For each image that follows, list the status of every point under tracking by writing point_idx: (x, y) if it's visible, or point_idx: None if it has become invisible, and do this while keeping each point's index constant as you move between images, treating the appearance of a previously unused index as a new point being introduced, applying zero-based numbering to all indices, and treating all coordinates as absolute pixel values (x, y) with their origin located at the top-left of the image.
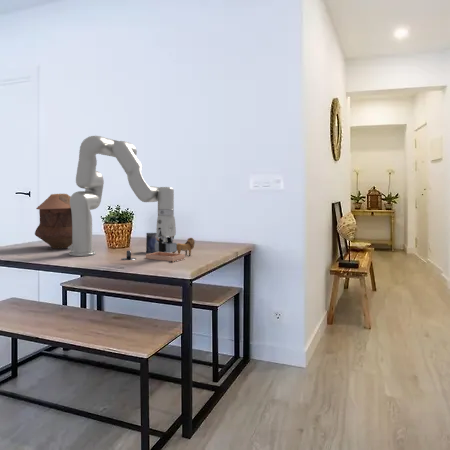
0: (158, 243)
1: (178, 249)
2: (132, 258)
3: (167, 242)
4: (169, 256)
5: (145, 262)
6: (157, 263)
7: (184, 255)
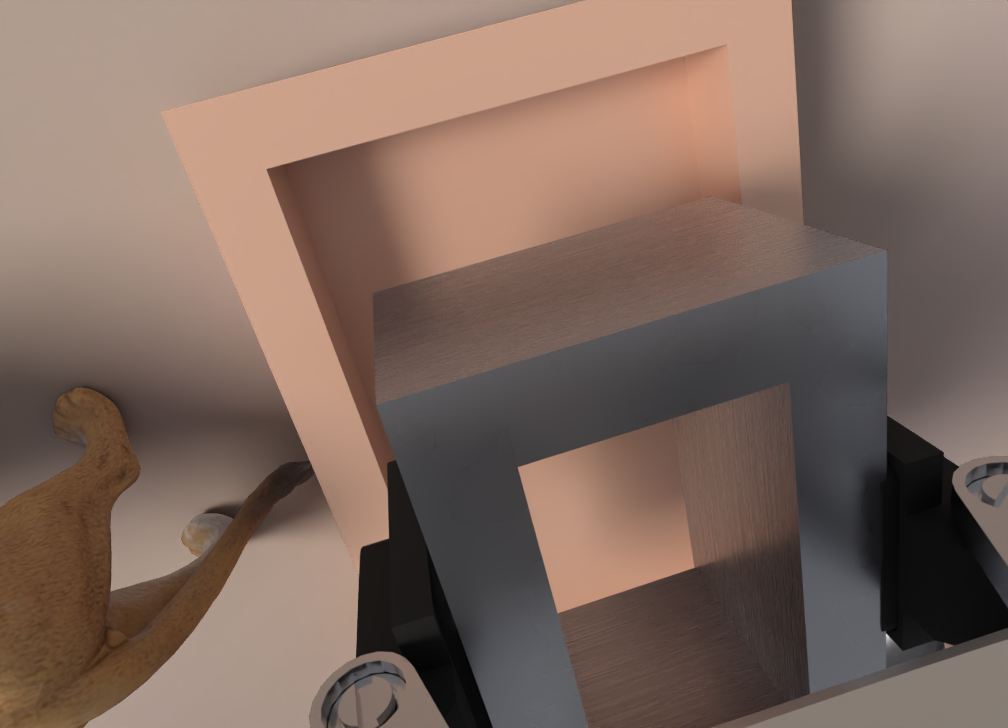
0: (879, 668)
1: (81, 535)
2: (914, 653)
3: (571, 669)
4: (747, 122)
5: (987, 356)
6: (971, 132)
7: (192, 106)
